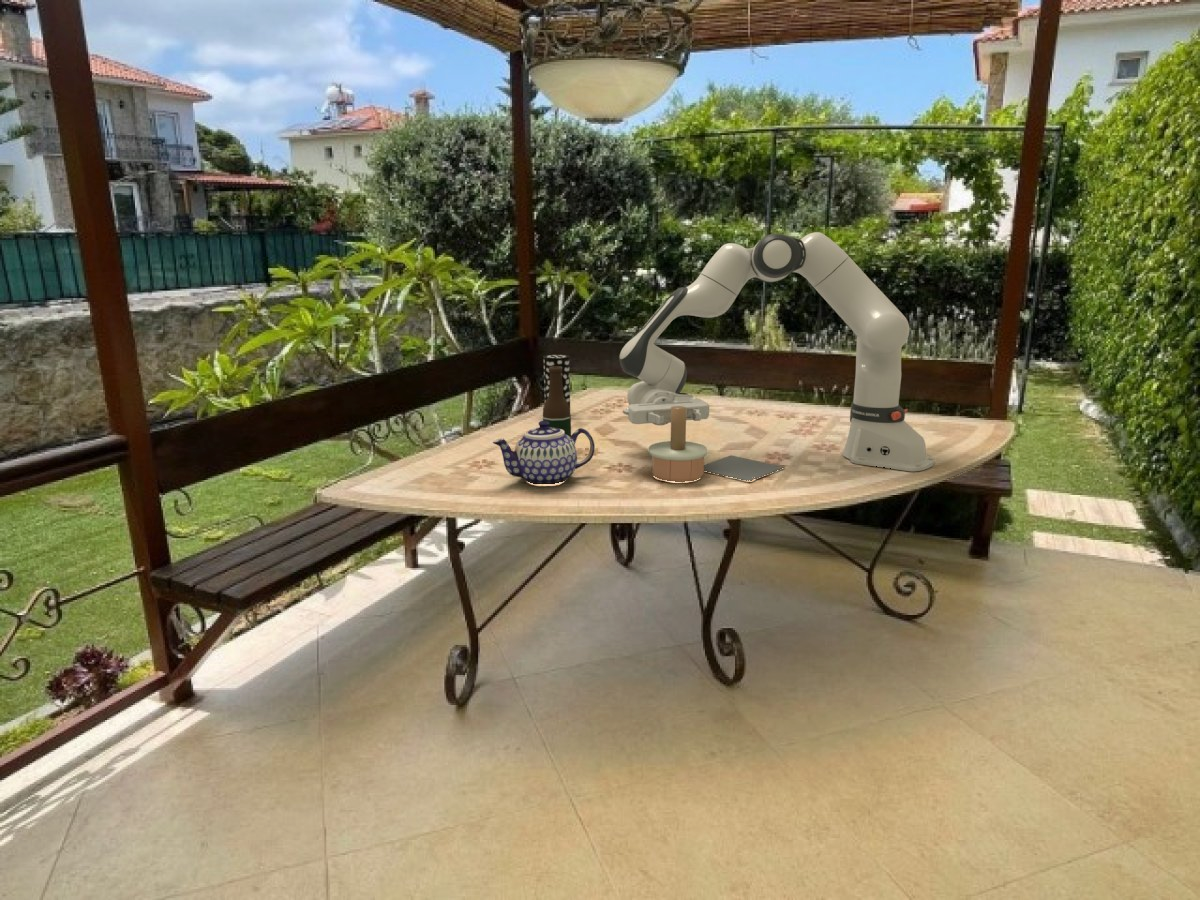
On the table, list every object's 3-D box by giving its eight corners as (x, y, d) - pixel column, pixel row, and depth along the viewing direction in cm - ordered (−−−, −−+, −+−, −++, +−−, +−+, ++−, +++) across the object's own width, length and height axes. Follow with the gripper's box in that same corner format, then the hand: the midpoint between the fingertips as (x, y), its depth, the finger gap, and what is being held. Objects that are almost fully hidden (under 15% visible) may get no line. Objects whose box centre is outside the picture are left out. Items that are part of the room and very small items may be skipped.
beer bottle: (575, 452, 202) (574, 365, 196) (566, 460, 195) (565, 369, 188) (548, 451, 204) (546, 364, 198) (538, 458, 197) (536, 368, 191)
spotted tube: (542, 415, 247) (540, 355, 242) (566, 413, 249) (565, 354, 244) (548, 420, 239) (546, 358, 234) (573, 418, 242) (572, 357, 237)
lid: (718, 451, 180) (720, 407, 177) (683, 463, 170) (684, 416, 167) (673, 441, 189) (673, 399, 186) (636, 452, 179) (637, 408, 176)
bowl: (712, 475, 181) (712, 451, 180) (681, 487, 173) (682, 462, 171) (673, 466, 189) (673, 443, 188) (642, 476, 181) (642, 452, 179)
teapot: (585, 467, 189) (585, 410, 185) (605, 484, 175) (605, 423, 172) (487, 477, 181) (485, 417, 177) (500, 495, 168) (498, 431, 164)
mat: (784, 468, 186) (784, 466, 186) (749, 483, 175) (749, 481, 175) (730, 457, 197) (731, 455, 197) (694, 470, 186) (694, 468, 186)
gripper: (620, 397, 186) (638, 408, 173) (696, 392, 191) (719, 403, 178) (620, 422, 187) (638, 435, 174) (695, 416, 193) (718, 428, 180)
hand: (679, 418), depth 176 cm, fingers open, 8 cm apart
